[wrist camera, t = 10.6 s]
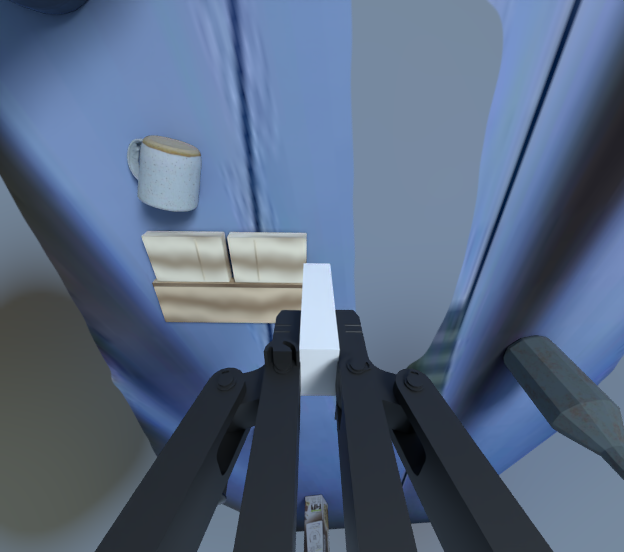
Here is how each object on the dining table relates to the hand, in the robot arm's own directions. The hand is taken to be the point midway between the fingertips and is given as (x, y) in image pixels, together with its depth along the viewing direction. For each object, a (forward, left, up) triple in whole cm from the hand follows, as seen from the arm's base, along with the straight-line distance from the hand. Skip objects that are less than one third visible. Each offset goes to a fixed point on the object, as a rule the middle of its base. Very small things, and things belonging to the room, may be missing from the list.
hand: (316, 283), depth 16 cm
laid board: (+22, -14, -29) cm, 40 cm away
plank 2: (+13, -7, -29) cm, 33 cm away
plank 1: (+13, -21, -29) cm, 38 cm away
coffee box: (+112, +3, -30) cm, 116 cm away
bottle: (+36, +47, -30) cm, 66 cm away
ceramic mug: (-1, -21, -30) cm, 36 cm away
